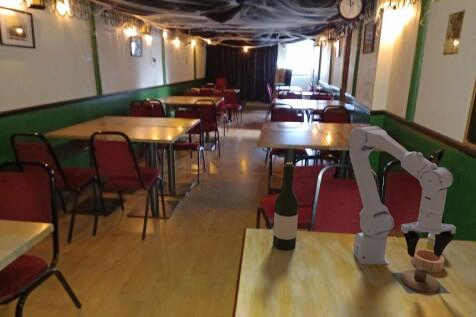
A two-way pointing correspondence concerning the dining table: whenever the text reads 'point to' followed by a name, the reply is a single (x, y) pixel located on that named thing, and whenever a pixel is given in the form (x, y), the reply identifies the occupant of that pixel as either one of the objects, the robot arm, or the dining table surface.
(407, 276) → the lid
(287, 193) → the wine bottle
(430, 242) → the supplement bottle
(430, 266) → the bowl
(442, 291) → the mat
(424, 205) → the robot arm
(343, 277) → the dining table surface
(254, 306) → the dining table surface
